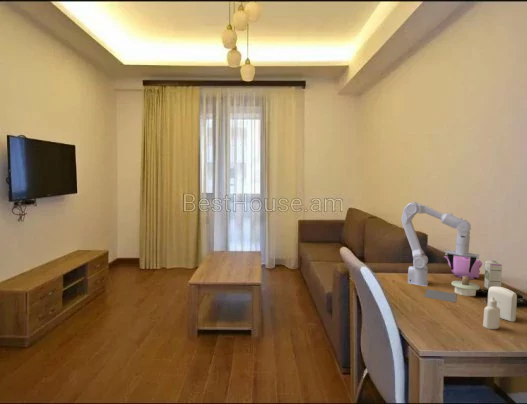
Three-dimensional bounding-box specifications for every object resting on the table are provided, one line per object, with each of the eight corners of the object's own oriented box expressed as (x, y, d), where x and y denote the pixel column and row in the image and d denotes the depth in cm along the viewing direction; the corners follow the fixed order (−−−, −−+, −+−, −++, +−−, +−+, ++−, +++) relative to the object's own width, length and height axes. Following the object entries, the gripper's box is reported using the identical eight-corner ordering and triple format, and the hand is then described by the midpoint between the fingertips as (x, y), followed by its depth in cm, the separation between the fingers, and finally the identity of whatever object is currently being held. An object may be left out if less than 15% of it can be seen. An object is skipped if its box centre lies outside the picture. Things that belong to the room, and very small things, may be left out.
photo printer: (484, 313, 143) (486, 284, 142) (490, 311, 145) (492, 283, 144) (511, 322, 134) (513, 292, 133) (517, 320, 136) (519, 291, 135)
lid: (449, 286, 165) (450, 277, 164) (452, 280, 174) (453, 271, 174) (478, 291, 158) (479, 282, 157) (480, 285, 167) (481, 275, 167)
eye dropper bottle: (480, 323, 133) (482, 294, 132) (497, 326, 131) (499, 296, 130) (484, 328, 128) (486, 298, 127) (501, 330, 127) (503, 300, 126)
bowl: (454, 294, 165) (454, 286, 165) (454, 289, 173) (455, 281, 172) (475, 298, 160) (476, 290, 160) (475, 292, 168) (475, 284, 168)
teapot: (478, 275, 197) (479, 254, 196) (483, 280, 188) (485, 258, 187) (440, 272, 204) (441, 251, 203) (443, 277, 194) (445, 255, 193)
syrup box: (501, 291, 171) (503, 263, 169) (488, 290, 172) (490, 262, 171) (495, 287, 176) (497, 260, 175) (483, 286, 177) (485, 259, 176)
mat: (423, 297, 160) (423, 296, 160) (426, 289, 171) (426, 288, 171) (455, 303, 153) (455, 302, 153) (456, 294, 165) (456, 293, 165)
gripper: (445, 243, 169) (444, 270, 171) (479, 247, 162) (477, 275, 163) (446, 241, 175) (445, 267, 177) (479, 245, 168) (477, 271, 169)
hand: (460, 270), depth 170 cm, fingers open, 7 cm apart
